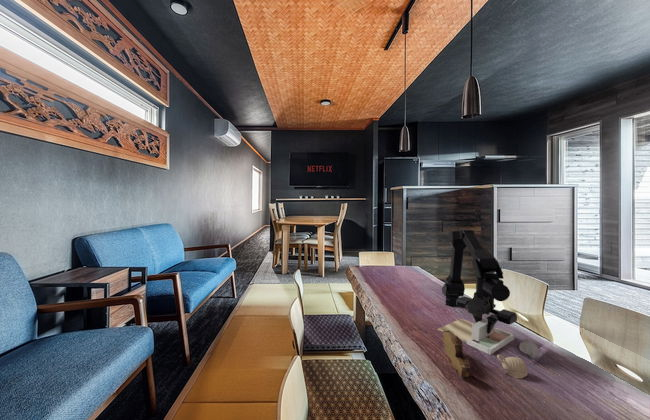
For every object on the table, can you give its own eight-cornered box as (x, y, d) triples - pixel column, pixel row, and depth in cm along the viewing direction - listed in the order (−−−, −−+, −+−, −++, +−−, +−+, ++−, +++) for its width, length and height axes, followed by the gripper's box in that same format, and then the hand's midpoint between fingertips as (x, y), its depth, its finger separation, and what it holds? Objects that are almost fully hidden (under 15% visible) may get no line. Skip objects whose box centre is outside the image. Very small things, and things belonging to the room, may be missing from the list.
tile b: (485, 343, 93) (485, 336, 93) (498, 349, 89) (498, 342, 89) (478, 347, 91) (478, 340, 90) (492, 353, 87) (492, 346, 87)
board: (461, 321, 110) (461, 318, 110) (490, 333, 100) (490, 330, 100) (437, 332, 102) (437, 329, 101) (467, 347, 91) (467, 343, 91)
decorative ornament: (531, 380, 74) (531, 362, 74) (498, 375, 77) (498, 357, 76) (524, 371, 78) (524, 354, 78) (493, 366, 80) (494, 350, 80)
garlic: (516, 349, 90) (517, 334, 90) (536, 352, 88) (536, 338, 87) (521, 358, 84) (521, 343, 84) (542, 362, 82) (542, 347, 82)
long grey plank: (488, 328, 99) (488, 316, 98) (495, 331, 97) (495, 319, 96) (471, 337, 92) (472, 324, 92) (478, 341, 90) (479, 328, 90)
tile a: (495, 337, 97) (495, 331, 97) (508, 343, 93) (508, 336, 93) (489, 341, 94) (489, 334, 94) (502, 347, 91) (502, 340, 90)
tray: (491, 333, 100) (491, 326, 100) (514, 342, 94) (514, 334, 94) (466, 347, 91) (466, 339, 91) (490, 359, 84) (490, 350, 84)
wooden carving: (477, 384, 73) (477, 350, 73) (461, 384, 73) (461, 350, 73) (450, 350, 89) (450, 323, 89) (437, 350, 89) (437, 323, 89)
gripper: (448, 287, 97) (447, 326, 98) (502, 304, 82) (501, 351, 82) (464, 282, 103) (463, 319, 104) (518, 296, 87) (517, 341, 88)
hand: (484, 331), depth 94 cm, fingers closed on long grey plank, 3 cm apart
